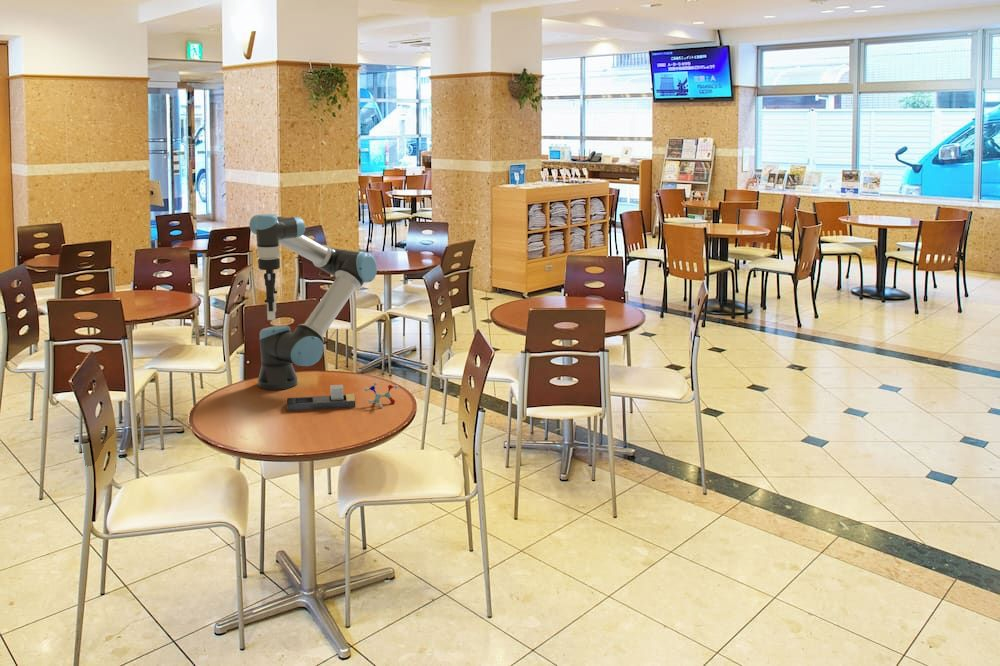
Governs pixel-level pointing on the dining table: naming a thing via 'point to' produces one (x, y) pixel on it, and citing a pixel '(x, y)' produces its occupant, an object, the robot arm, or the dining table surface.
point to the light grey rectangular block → (336, 392)
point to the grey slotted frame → (319, 403)
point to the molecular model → (380, 394)
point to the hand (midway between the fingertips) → (272, 315)
